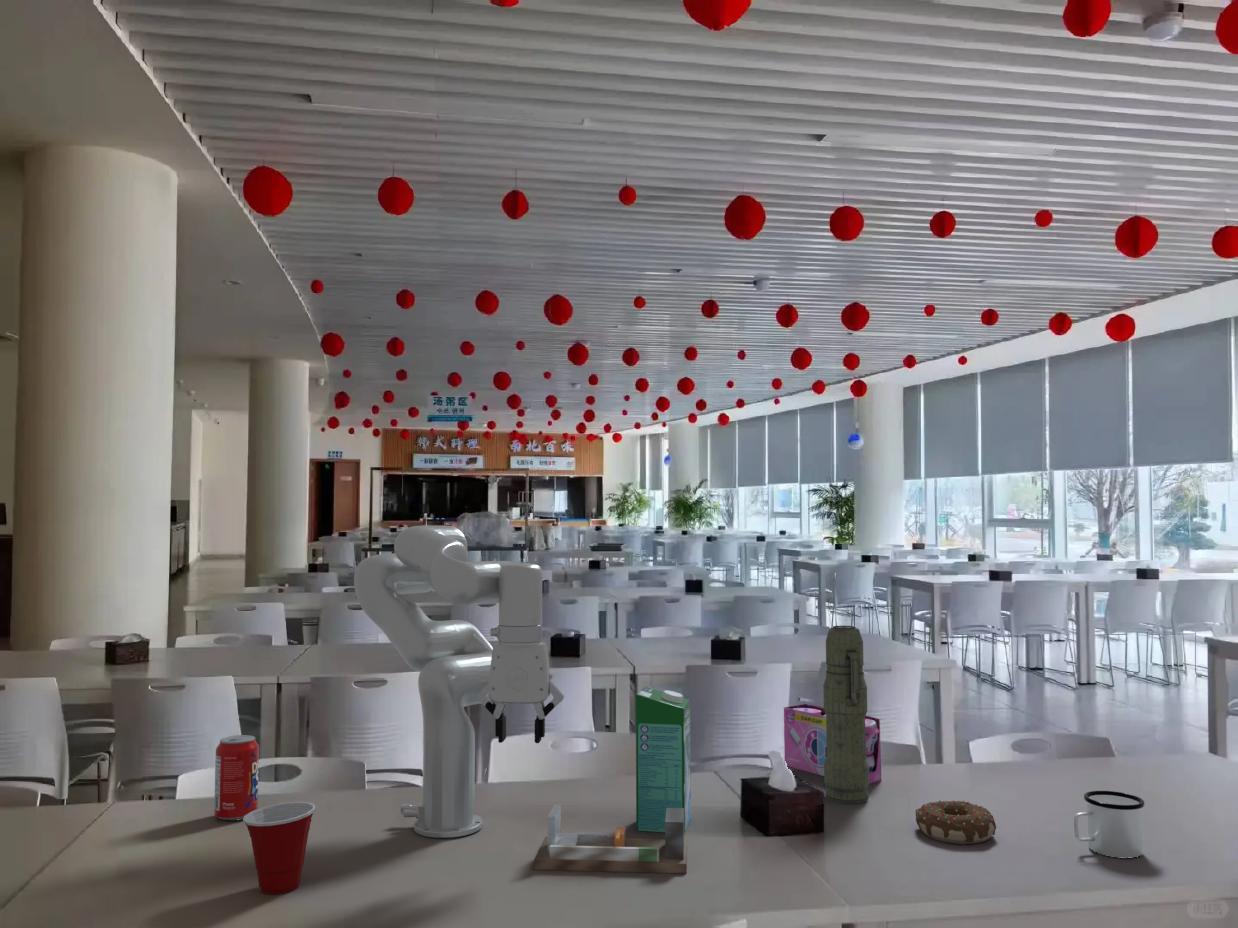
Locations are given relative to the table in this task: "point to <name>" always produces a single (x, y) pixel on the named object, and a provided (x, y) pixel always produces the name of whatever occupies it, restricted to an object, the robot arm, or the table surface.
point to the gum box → (822, 740)
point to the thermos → (845, 717)
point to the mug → (1113, 823)
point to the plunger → (568, 838)
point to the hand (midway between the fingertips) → (520, 740)
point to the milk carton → (662, 757)
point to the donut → (956, 822)
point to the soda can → (236, 777)
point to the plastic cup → (279, 844)
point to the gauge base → (622, 852)
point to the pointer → (620, 837)
